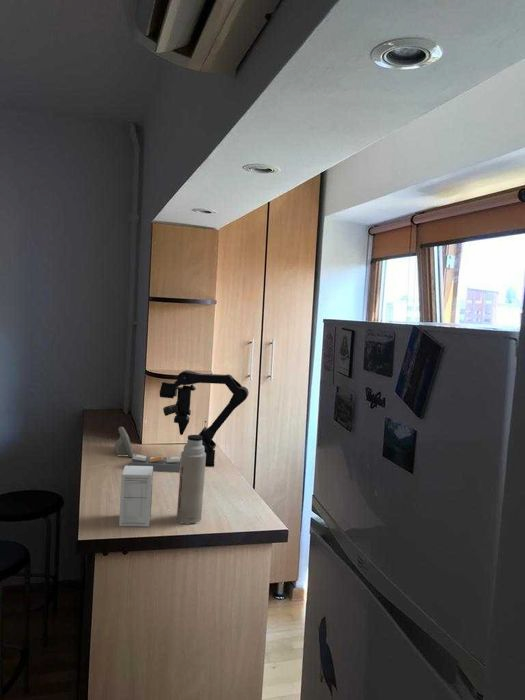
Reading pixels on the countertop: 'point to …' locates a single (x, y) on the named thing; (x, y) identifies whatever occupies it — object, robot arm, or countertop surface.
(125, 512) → the supplement box
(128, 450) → the grey tapered fin
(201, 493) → the thermos bottle
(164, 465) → the power strip
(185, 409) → the robot arm
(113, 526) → the countertop surface
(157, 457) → the block
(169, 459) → the rocker
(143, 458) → the rocker
